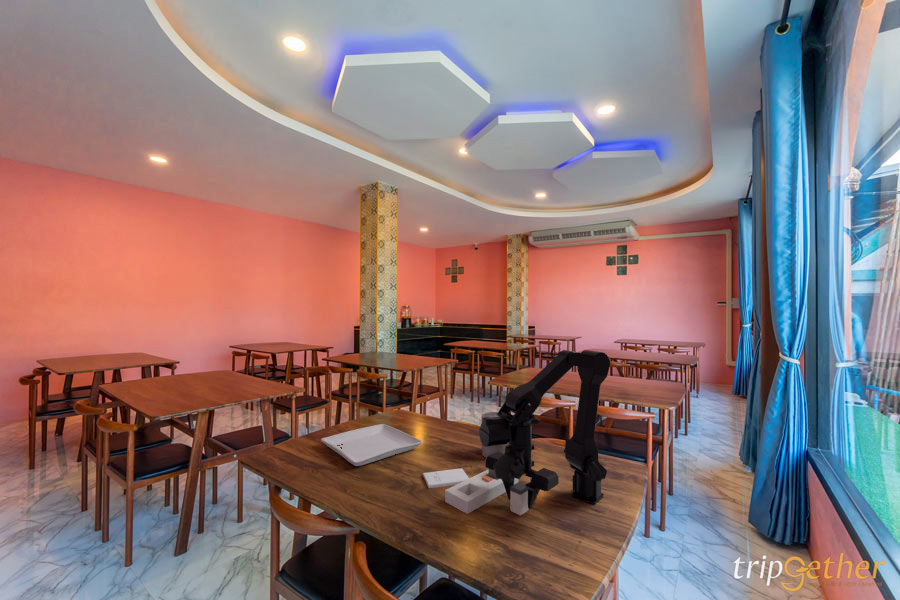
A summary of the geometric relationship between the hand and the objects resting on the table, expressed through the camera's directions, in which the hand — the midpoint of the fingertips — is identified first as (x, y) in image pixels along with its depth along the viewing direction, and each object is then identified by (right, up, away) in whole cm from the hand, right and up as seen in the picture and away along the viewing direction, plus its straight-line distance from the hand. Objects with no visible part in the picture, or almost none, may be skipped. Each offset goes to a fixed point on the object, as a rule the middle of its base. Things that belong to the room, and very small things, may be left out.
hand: (519, 503), depth 91 cm
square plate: (-46, -3, +40) cm, 61 cm away
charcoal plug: (-4, -2, +13) cm, 14 cm away
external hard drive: (-19, -3, +16) cm, 25 cm away
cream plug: (0, -2, 0) cm, 2 cm away
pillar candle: (-2, -3, +35) cm, 35 cm away
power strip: (-8, -2, +8) cm, 12 cm away
